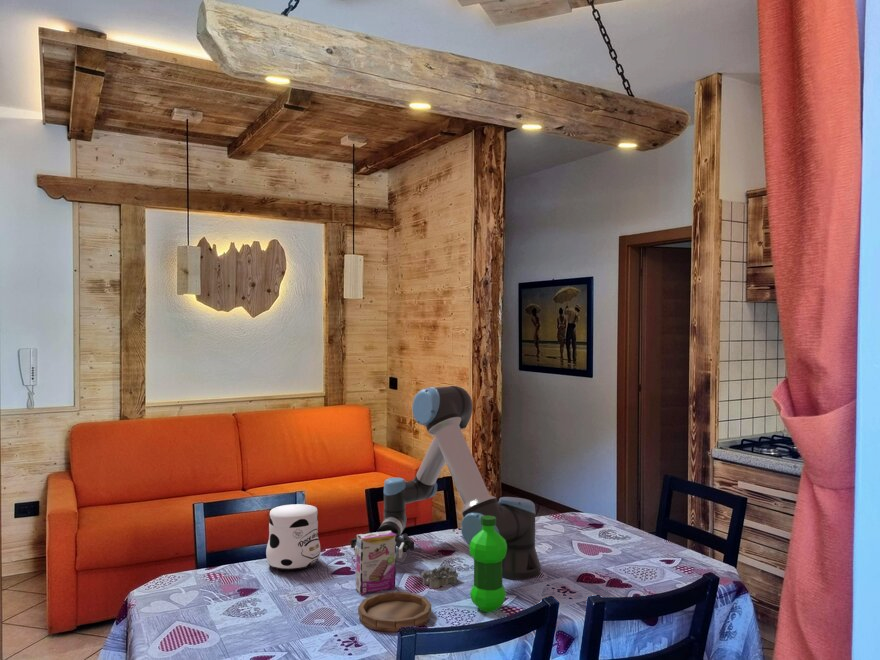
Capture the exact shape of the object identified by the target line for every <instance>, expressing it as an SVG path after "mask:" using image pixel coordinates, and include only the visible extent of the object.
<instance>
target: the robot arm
mask: <svg viewBox="0 0 880 660" xmlns="http://www.w3.org/2000/svg"><path fill="white" fill-rule="evenodd" d="M473 407H474V406H473V399H472V397H471V395H470V394H469V392H468V391H467V390H466V389H465V388H462V387H461V386H458V385H451V386H449V385H448V386H439V387H438V386H437V387H433V386H431V387H427V388H423V389H420V390H419V391H418V392H417V393H416V395H414V398H413V403H412V408H411V410H412V412H411V413H412V415H413V416H412V417H413V418H414V421H415V422H417V424H419V425H422V426H424V427H425V428H426V430H427V433H428V434H429V435H431V436H433V438H432V441H431V443H430V445H429V447H428V449H427V451H426V453H425V455H424V457H423V459H422V461H421V464H420V466H419V468H418V470H417V472H416V474H415V476H414V478H413V480H409V481H408V480H407V481H406V480H405V479H404V478H402V477H389V478H387V479H385V480H384V481H383V484H384V485H383V521H382V523H381V524H380V526H379V527H378V529H377V531H376V532H383V531H392V532H393V533H395V534H396V548H398V559H402V557H403V555H404V553H405V554H406V553H407V552H408V551H409V550H410V551H414V550H415V541H414V540H413V539H412V538H411V537H410V536H408V533H403V531H404V530H405V529H406V526H407V518H408V517H407V516H406V504H411V503H415V502H419V501H425V500H428V499H431V498H432V497H434V496H436V494H437V492H438V483H437V480H438V478H439V476H440V474H441V472H442V470H443V468H444V466H445V465H446V466H447V468H448V471H449V473H450V475H451V478H452V480H453V483H454V485H455V487H456V490H457V493H458V494H459V498H460V499H461V502H462V504H463V508H462V511H461V514H462V517H463V518H462V520H461V523H460V525H461V527H460V530H461V531H460V532H461V536H462V538H463V540H464V541H465V543H466V544H467V545H468V546H469V545H470V543H471V540H472V538H473V537H474V536H475V535H476V534H477V533H479V532H480V531H481V530H482V529H483V525H481V516H494V517H496V525H494V530H495V531H496V532H497V533H499V534H500V535H501V536H502V537H503V538H504V539H505V540H506V543H507V552H506V555H505V558H504V559H503V560H502V578H504V579H511V580H530V579H533V578H537V577H538V576H540V575H541V568H542V566H541V563H540V559H539V556H538V552H537V549H536V515H537V513H536V505H535V503H534V502H533V501H532V500H530V499H528V498H523V497H522V498H521V497H516V496H514V497H513V496H502V497H501V496H500V498H499V499H497V497H495V496H494V495H492V494H490V493H489V490H488V488H487V486H486V484H485V481H484V479H483V477H482V474H481V473H480V470H479V467H478V465H477V463H476V461H475V458H474V456H473V454H472V452H471V449H470V447H469V445H468V443H467V441H466V438H465V436H464V433H463V431H462V430H465V429H466V428H467V426H468V424H469V423H470V420H471V418H472V414H473ZM367 533H371V532H370V531H367V532H365V533H364V534H367ZM402 533H403V534H402ZM356 539H357V536H356V537H354V538H351V539H350V548H351V549H353V551H354V557H356Z"/></svg>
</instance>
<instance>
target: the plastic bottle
mask: <svg viewBox="0 0 880 660" xmlns="http://www.w3.org/2000/svg"><path fill="white" fill-rule="evenodd" d="M481 525H483V529H482V530H481V531H480V532H479V533H477V534H476V535H475V536H474V537H473V538H472V540H471V543H470V545H468V547H469V553H470V555H469V556H471V557H472V558H473V586H472V588H471V591H470V594H469V595H470V597H469V598H470V600H471V602H472V603H473V604H474V605H475V606H476V607H477V608H478V609H479V610H480V611H481V612H485V613H491V612H493V613H494V612H495V611H497V610H498V609H499V608H500V607H502V605H503V604H504V601H505V599H506V596H507V595H506V594H507V593H506V592H507V591H506V589H505V587H504V585H503V577H502V560H503V559H504V558H505V555H506V552H507V543H506V540H505V539H504V538H503V537H502V536H501V535H500V534H499V533H497V532H496V531H495V530H494V525H496V517H494V516H481Z"/></svg>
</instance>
